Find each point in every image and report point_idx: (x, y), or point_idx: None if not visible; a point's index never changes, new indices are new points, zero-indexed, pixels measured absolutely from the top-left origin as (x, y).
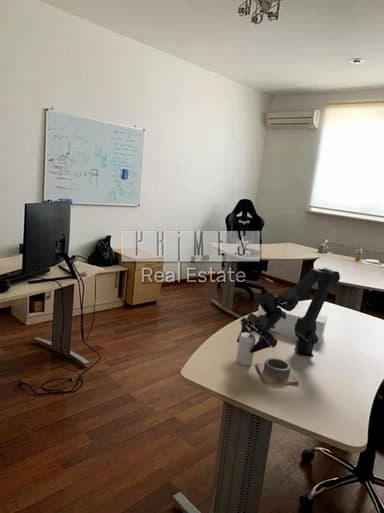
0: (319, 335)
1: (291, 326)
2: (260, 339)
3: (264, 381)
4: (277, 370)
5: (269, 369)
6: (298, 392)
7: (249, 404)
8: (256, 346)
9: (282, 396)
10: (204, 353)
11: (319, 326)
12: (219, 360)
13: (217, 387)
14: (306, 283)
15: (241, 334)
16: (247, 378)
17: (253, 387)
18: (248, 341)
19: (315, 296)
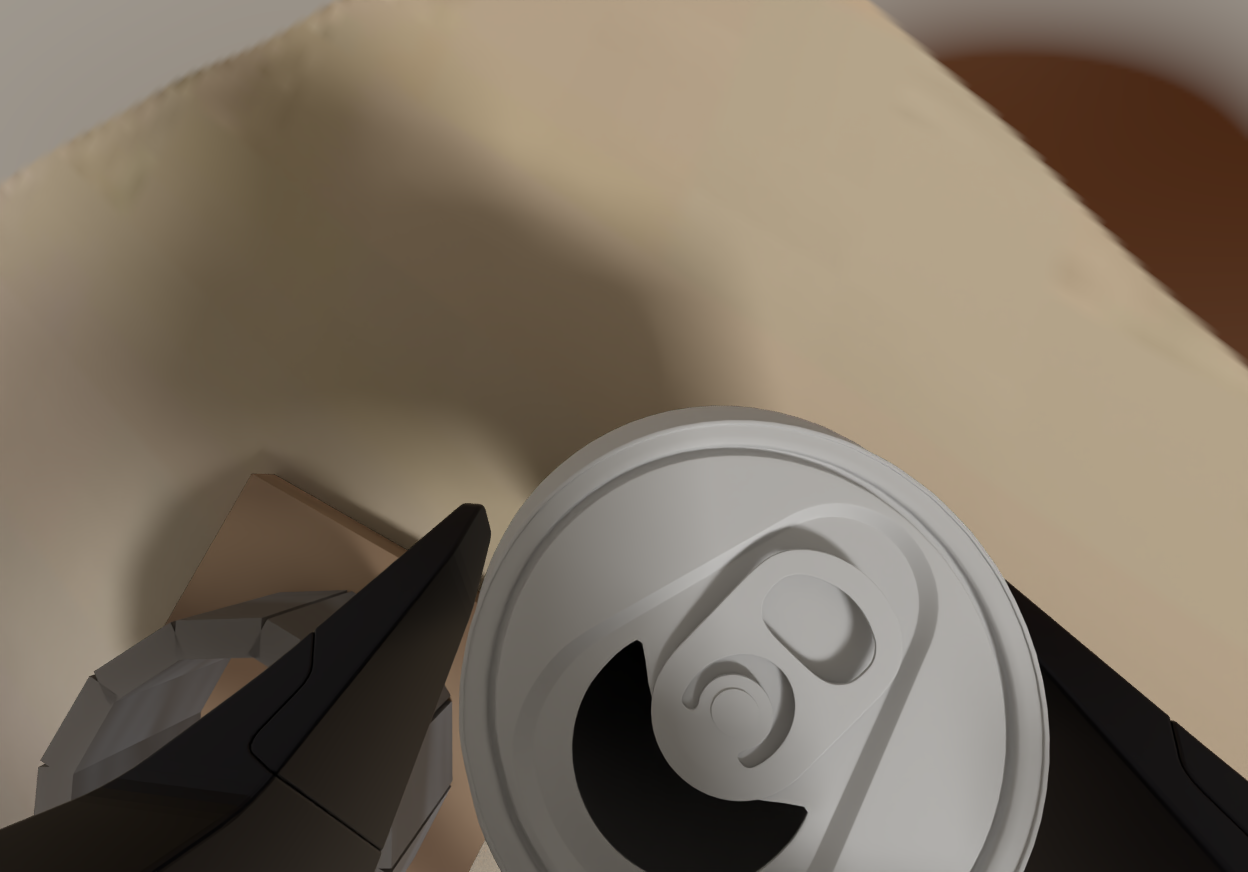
0: None
1: None
2: (53, 856)
3: (263, 476)
4: (112, 665)
5: (237, 609)
6: (5, 683)
7: (108, 132)
8: (326, 620)
9: (43, 476)
10: (1019, 232)
11: None
12: (815, 306)
13: (400, 24)
14: None
15: (892, 491)
16: (401, 366)
17: (262, 319)
18: (515, 516)
19: None
